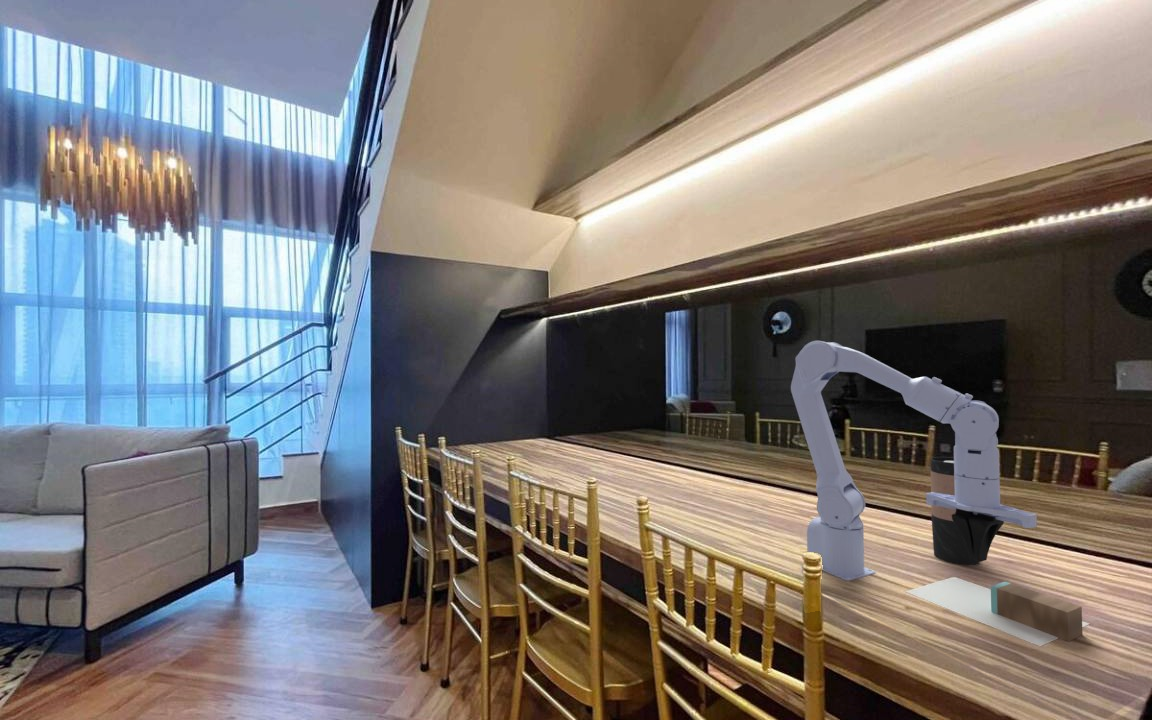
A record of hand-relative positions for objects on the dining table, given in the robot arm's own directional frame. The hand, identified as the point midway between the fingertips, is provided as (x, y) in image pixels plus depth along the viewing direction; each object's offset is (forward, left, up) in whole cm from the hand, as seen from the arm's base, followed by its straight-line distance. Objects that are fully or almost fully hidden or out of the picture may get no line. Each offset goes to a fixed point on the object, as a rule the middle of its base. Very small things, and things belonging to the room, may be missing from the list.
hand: (978, 559), depth 78 cm
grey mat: (+2, 0, -7) cm, 7 cm away
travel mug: (-12, +17, -8) cm, 22 cm away
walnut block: (+3, 0, -5) cm, 6 cm away
